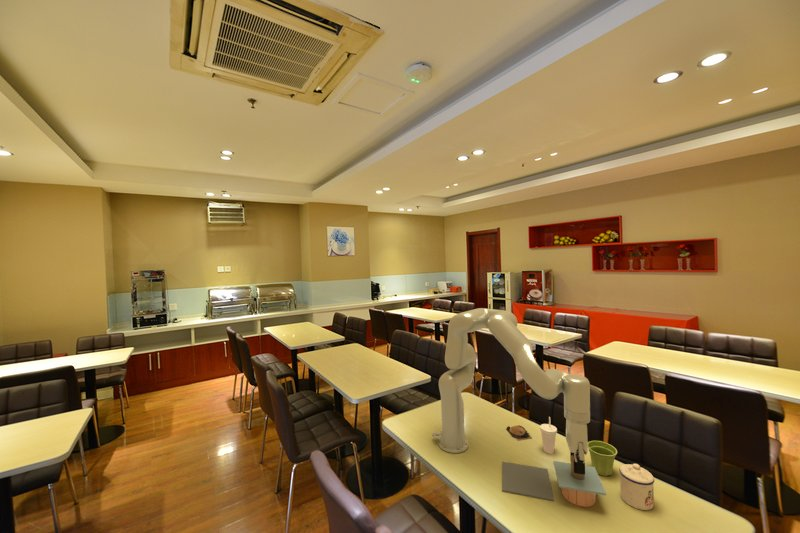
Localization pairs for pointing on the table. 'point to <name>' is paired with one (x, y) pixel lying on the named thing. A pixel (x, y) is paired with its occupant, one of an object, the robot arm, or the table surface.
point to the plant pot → (602, 457)
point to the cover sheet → (578, 484)
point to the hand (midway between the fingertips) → (577, 467)
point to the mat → (526, 481)
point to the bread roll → (518, 433)
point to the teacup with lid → (637, 486)
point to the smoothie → (548, 437)
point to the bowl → (579, 497)
